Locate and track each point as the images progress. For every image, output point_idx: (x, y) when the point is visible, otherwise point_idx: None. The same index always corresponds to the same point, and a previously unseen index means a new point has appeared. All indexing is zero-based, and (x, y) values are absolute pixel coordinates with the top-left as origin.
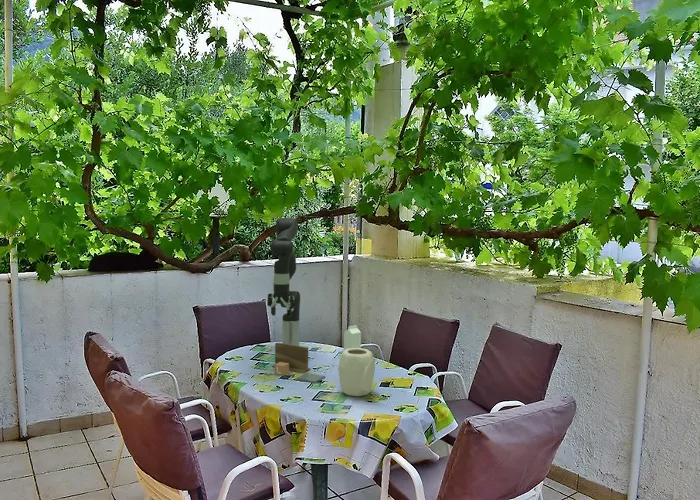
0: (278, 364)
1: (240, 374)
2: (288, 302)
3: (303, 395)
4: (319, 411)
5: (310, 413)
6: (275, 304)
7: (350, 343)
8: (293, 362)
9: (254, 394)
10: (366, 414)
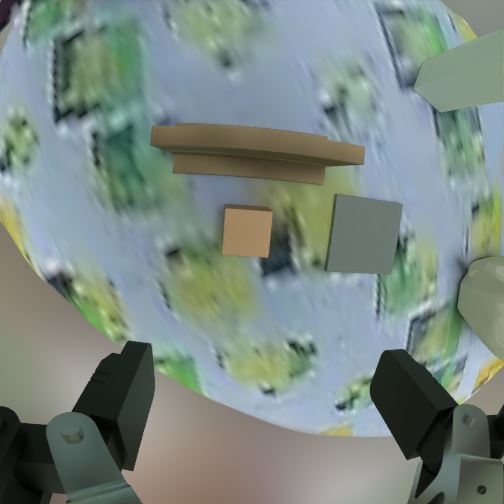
0: (238, 248)
1: (119, 295)
2: (477, 498)
3: None
4: None
5: None
6: (110, 482)
7: (498, 94)
8: (267, 158)
9: (263, 412)
10: (481, 372)
